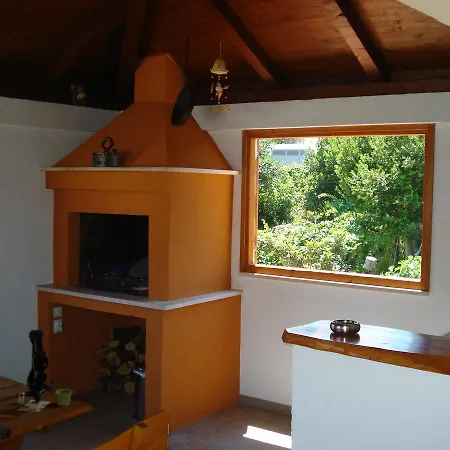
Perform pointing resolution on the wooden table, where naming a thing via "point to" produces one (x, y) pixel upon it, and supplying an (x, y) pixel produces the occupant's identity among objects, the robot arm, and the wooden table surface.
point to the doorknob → (21, 397)
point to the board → (26, 408)
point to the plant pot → (63, 397)
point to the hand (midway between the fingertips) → (38, 404)
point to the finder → (35, 405)
